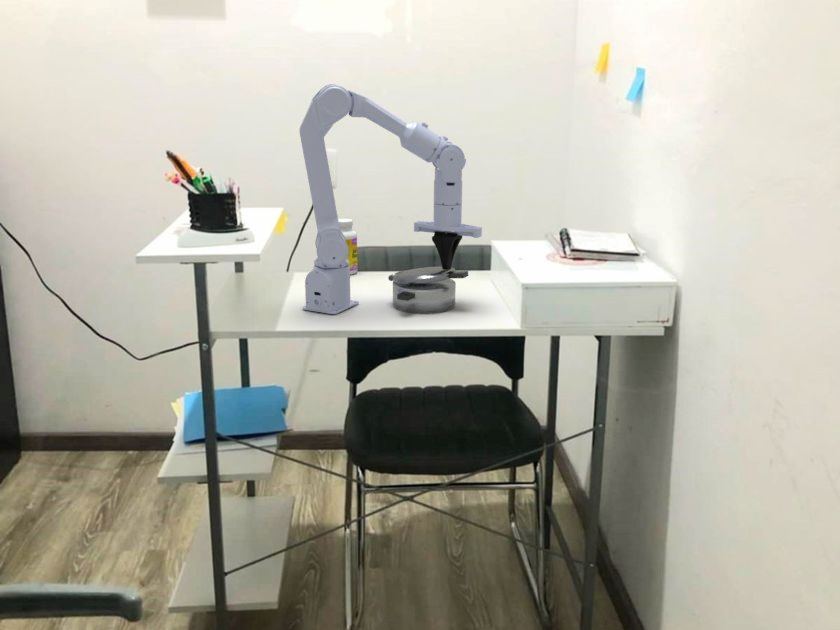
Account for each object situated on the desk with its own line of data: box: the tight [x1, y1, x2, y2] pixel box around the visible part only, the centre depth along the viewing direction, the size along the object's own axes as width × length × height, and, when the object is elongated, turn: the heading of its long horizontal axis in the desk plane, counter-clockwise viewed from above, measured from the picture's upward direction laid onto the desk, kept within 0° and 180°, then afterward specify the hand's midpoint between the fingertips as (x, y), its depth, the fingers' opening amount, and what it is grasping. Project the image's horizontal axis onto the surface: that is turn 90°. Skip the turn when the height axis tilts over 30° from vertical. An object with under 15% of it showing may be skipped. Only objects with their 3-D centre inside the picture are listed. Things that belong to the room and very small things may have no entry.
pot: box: [392, 278, 456, 315], centre depth 169 cm, size 19×13×5 cm
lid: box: [387, 266, 469, 284], centre depth 167 cm, size 13×17×1 cm
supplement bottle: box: [338, 218, 358, 276], centre depth 194 cm, size 7×7×13 cm
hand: (446, 268), depth 169 cm, fingers closed
